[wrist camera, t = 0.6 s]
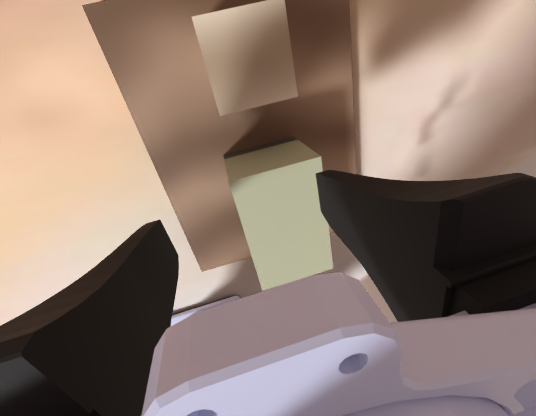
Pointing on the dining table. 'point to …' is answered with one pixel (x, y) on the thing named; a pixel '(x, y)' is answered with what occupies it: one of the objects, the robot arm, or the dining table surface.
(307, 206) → the block
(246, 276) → the dining table surface
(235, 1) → the walnut board
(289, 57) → the birch offcut
